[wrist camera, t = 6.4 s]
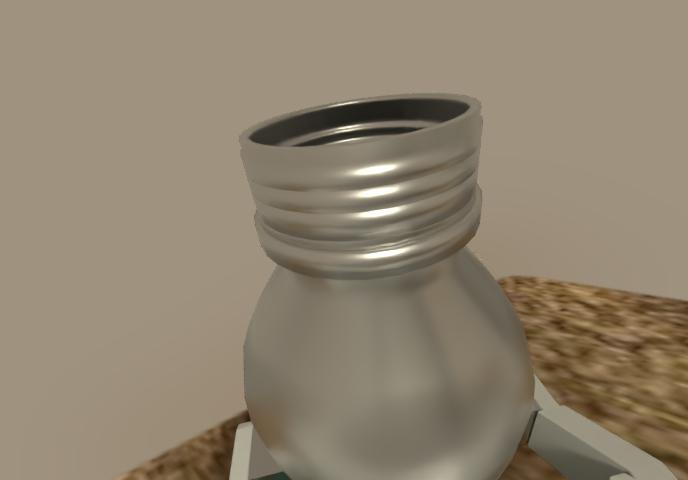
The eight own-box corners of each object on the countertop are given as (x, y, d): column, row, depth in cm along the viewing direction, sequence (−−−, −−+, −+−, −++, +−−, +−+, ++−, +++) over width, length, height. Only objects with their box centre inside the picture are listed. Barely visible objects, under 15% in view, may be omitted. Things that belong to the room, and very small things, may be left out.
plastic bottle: (494, 693, 12) (951, 189, 1) (320, 633, 13) (-30, 217, 3) (474, 488, 17) (542, 65, 7) (351, 464, 19) (255, 102, 8)
